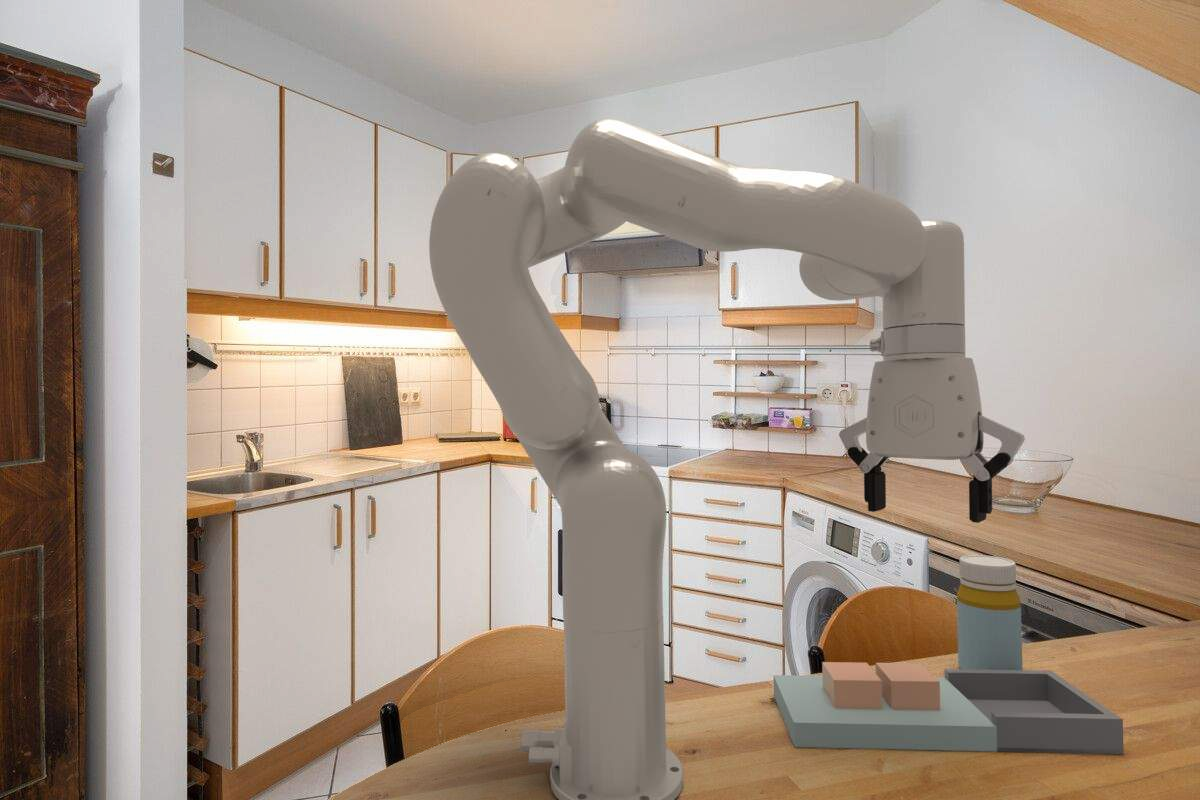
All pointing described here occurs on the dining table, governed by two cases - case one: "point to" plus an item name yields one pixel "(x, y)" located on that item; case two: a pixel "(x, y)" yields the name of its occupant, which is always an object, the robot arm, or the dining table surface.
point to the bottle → (988, 614)
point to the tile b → (908, 686)
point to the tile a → (852, 685)
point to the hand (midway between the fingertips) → (925, 515)
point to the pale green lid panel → (880, 721)
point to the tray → (1039, 712)
